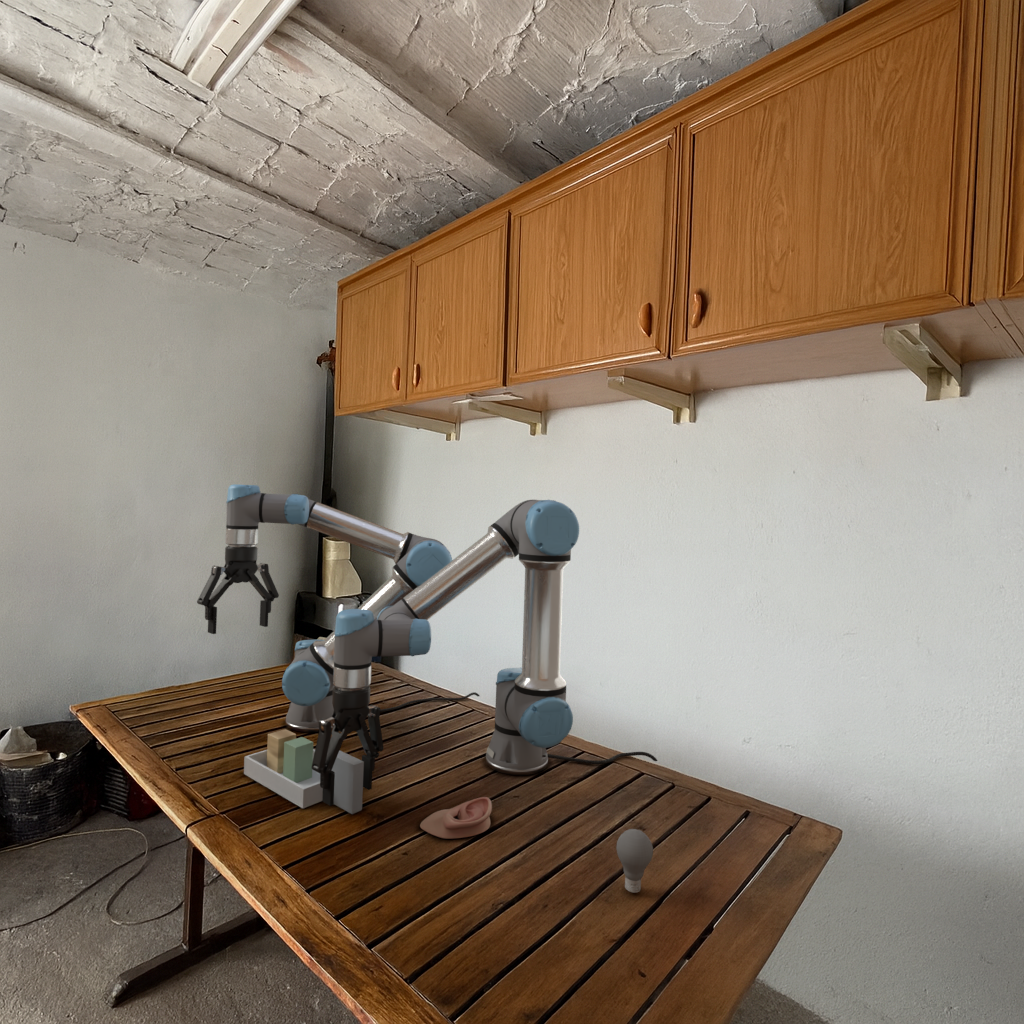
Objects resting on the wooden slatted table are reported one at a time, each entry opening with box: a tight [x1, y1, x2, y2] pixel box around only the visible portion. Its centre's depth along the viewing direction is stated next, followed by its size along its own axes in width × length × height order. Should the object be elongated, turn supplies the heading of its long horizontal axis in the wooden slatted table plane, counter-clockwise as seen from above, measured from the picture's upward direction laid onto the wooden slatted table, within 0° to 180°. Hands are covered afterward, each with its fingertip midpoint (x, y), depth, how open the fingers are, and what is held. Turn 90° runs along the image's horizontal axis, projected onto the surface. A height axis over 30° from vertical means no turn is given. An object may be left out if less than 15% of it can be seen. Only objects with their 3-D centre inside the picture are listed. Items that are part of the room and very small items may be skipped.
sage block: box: [283, 736, 314, 783], centre depth 141 cm, size 4×4×8 cm
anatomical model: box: [419, 796, 493, 840], centre depth 124 cm, size 13×4×12 cm
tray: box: [243, 748, 364, 815], centre depth 138 cm, size 32×13×10 cm, turn 51°
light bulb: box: [615, 828, 654, 894], centre depth 106 cm, size 6×6×10 cm
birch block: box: [266, 728, 297, 774], centre depth 145 cm, size 4×4×8 cm
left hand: (238, 629), depth 160 cm, fingers open, 13 cm apart
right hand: (347, 794), depth 130 cm, fingers open, 9 cm apart
